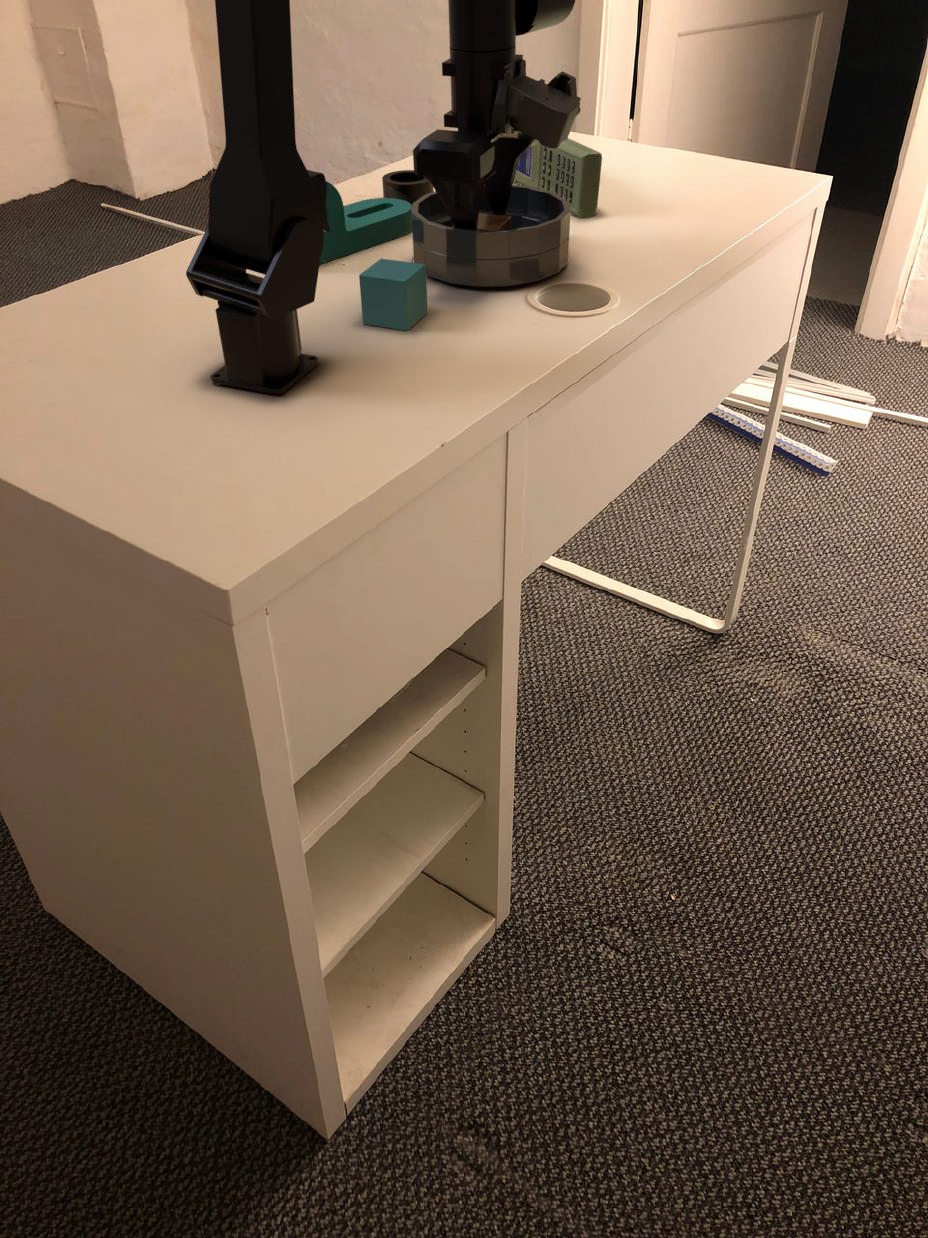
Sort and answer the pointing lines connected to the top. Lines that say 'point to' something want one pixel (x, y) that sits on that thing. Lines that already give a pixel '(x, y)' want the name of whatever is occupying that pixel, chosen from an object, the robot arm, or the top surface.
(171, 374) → the top surface
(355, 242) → the bracket
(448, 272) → the faceted round tray
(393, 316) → the teal block
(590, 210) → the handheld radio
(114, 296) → the top surface
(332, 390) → the top surface
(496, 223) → the walnut block
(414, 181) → the duct tape
